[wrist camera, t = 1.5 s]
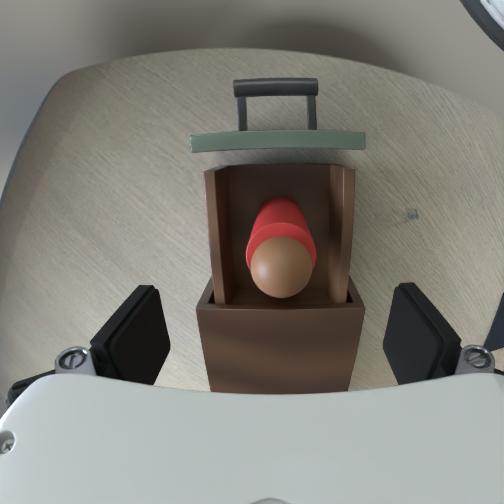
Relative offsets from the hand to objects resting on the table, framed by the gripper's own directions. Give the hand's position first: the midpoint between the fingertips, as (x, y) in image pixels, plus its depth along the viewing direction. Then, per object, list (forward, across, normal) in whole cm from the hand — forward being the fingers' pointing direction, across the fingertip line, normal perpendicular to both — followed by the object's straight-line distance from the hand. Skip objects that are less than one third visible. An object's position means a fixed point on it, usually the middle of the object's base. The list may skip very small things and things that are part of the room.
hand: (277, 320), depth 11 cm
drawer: (+16, 0, -2) cm, 16 cm away
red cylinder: (+14, 0, 0) cm, 15 cm away
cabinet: (+17, 0, +12) cm, 21 cm away
